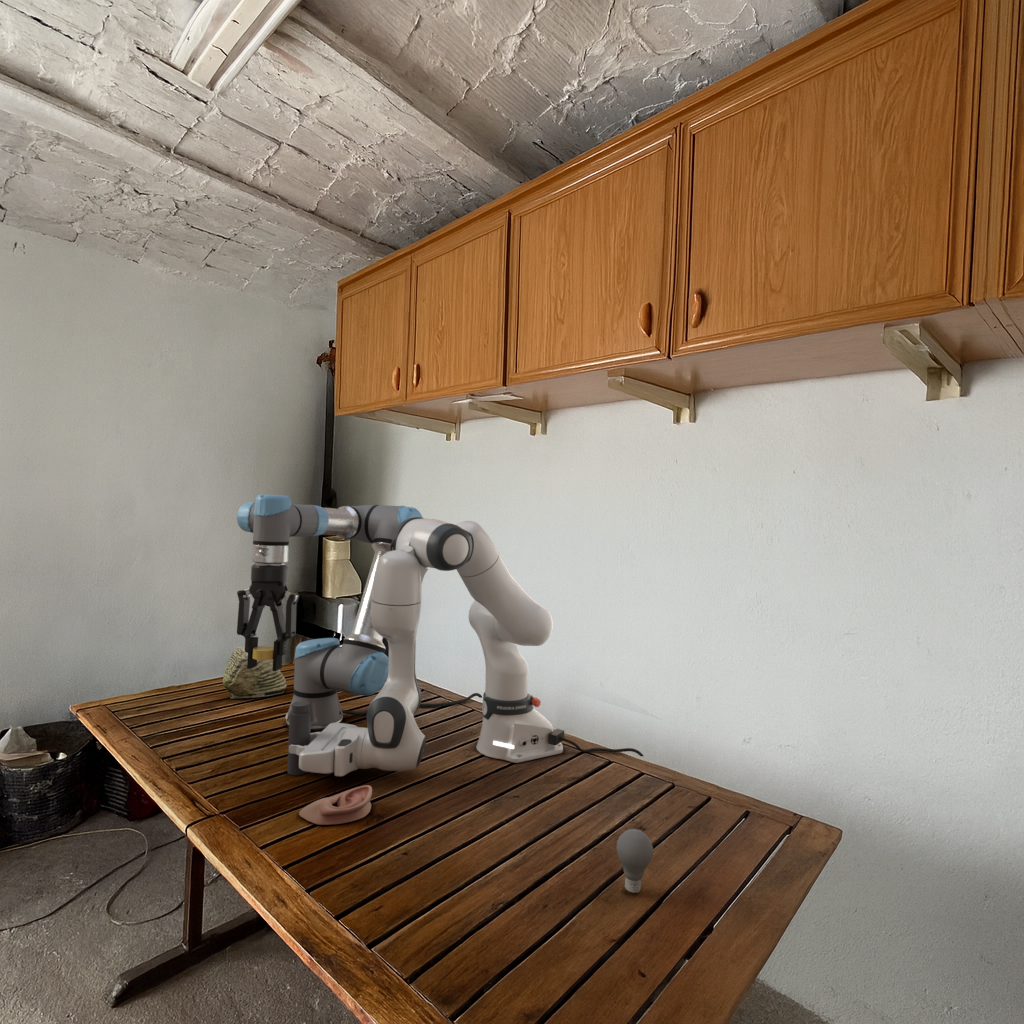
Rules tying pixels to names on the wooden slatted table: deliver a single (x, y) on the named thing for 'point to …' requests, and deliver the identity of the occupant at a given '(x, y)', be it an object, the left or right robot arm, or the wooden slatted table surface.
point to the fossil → (251, 677)
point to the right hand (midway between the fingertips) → (295, 743)
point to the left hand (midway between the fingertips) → (264, 668)
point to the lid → (263, 652)
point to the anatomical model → (339, 807)
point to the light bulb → (634, 857)
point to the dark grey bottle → (298, 733)
